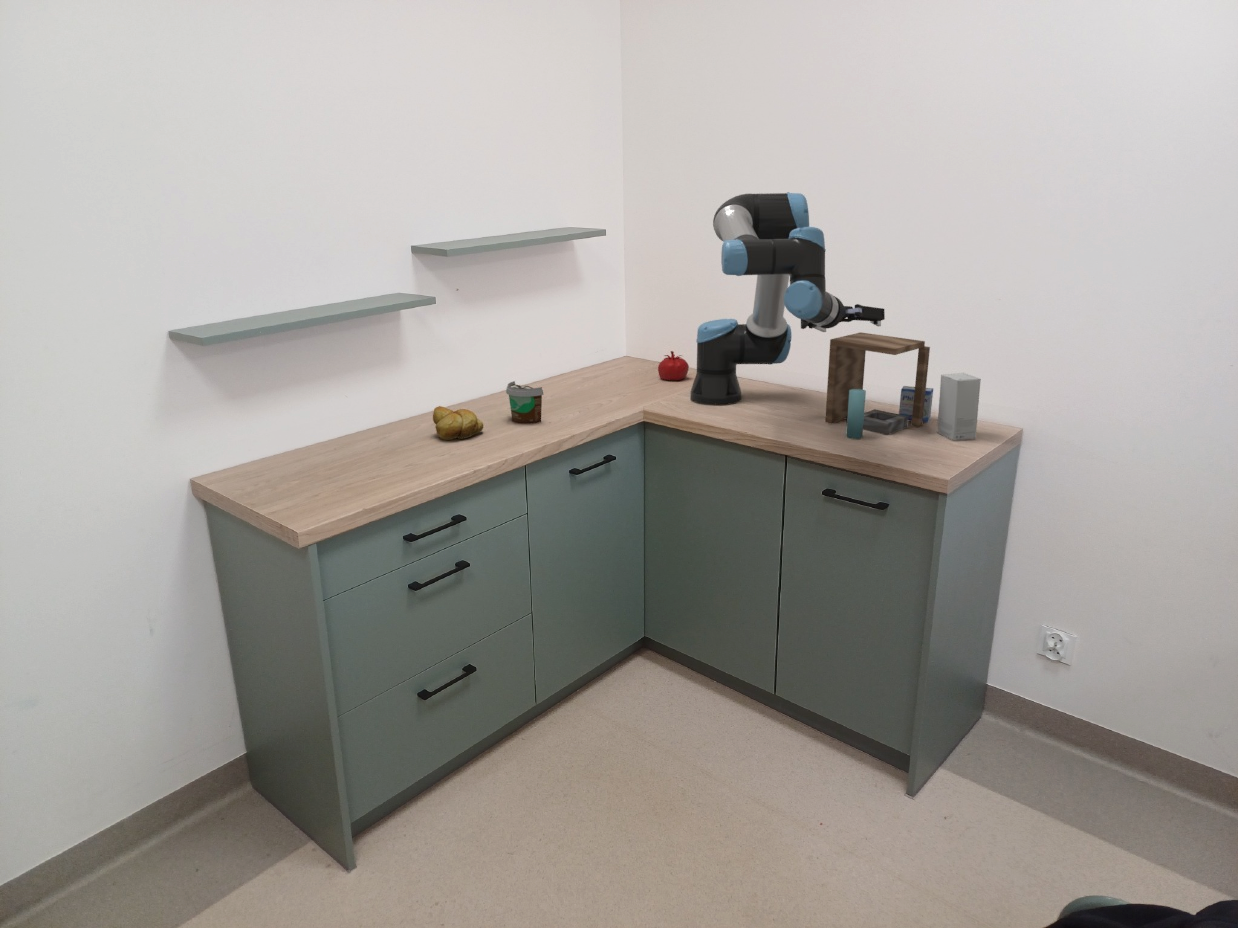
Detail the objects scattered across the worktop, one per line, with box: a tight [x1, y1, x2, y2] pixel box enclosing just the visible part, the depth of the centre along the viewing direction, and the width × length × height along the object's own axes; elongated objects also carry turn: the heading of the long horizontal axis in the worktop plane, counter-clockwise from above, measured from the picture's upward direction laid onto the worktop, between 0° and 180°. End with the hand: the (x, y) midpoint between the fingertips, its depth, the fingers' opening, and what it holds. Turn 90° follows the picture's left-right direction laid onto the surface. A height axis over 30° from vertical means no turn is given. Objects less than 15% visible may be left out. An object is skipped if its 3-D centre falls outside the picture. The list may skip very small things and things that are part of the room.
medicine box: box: [898, 385, 934, 423], centre depth 235 cm, size 8×4×9 cm, turn 65°
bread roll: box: [432, 405, 484, 441], centre depth 227 cm, size 13×10×8 cm
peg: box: [845, 389, 867, 440], centre depth 220 cm, size 4×4×12 cm
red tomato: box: [657, 350, 690, 382], centre depth 285 cm, size 10×10×9 cm
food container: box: [505, 380, 544, 425], centre depth 239 cm, size 12×6×10 cm, turn 47°
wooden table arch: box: [824, 332, 931, 436], centre depth 229 cm, size 15×20×22 cm
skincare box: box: [936, 372, 981, 442], centre depth 218 cm, size 8×7×16 cm
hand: (851, 323), depth 214 cm, fingers open, 13 cm apart
